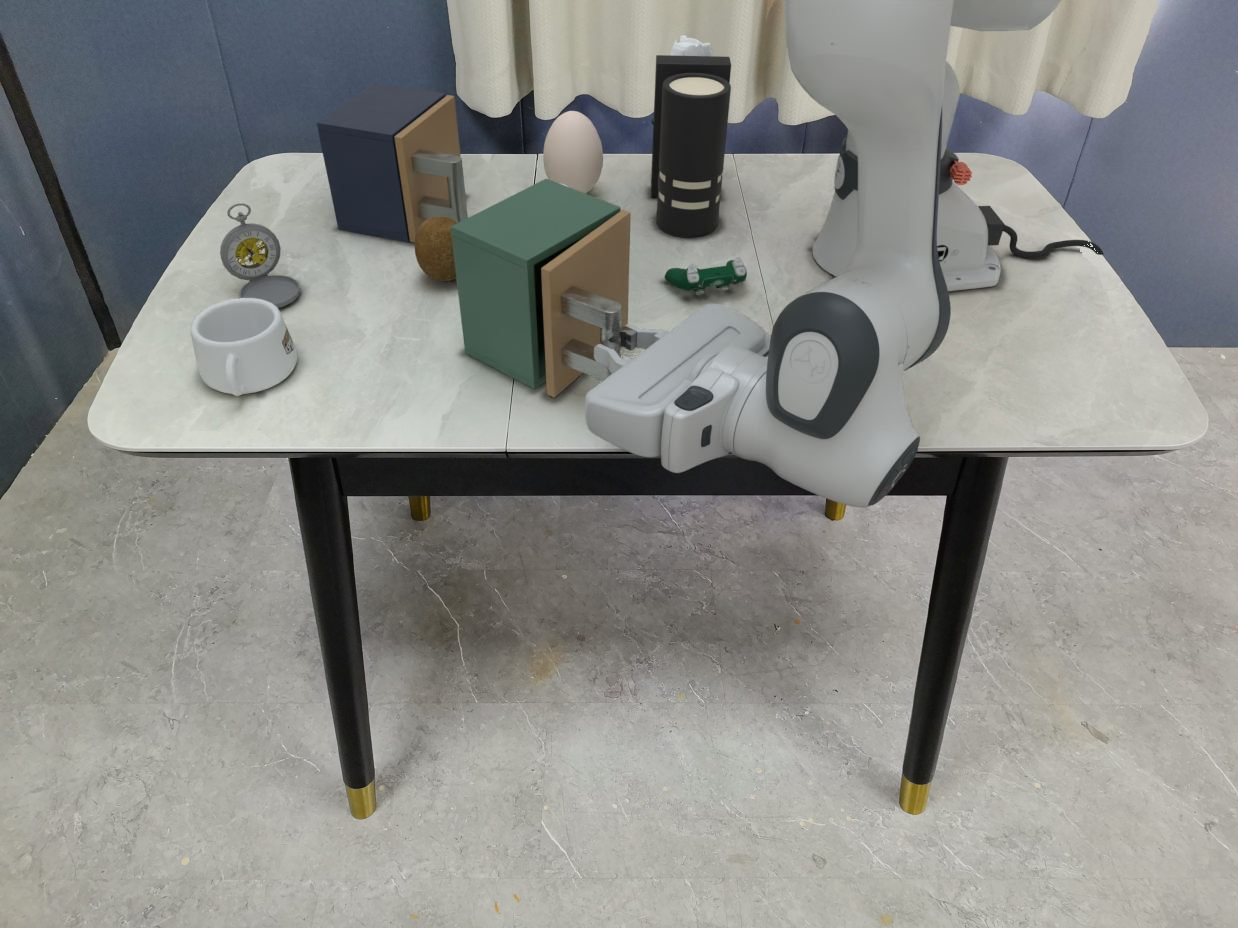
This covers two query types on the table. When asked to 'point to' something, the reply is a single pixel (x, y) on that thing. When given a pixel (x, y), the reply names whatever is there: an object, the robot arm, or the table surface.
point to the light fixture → (689, 141)
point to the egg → (573, 152)
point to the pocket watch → (257, 262)
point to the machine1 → (371, 158)
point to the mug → (242, 346)
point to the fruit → (436, 248)
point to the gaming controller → (707, 276)
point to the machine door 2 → (585, 302)
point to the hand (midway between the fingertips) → (609, 341)
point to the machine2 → (517, 271)
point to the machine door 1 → (432, 167)
